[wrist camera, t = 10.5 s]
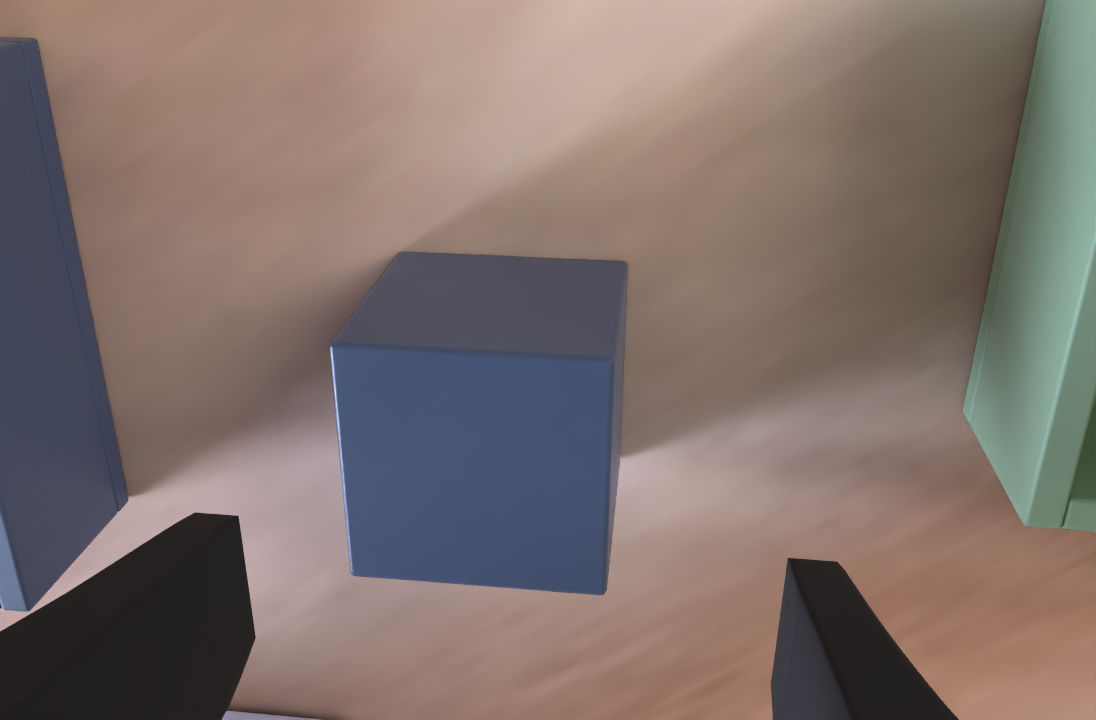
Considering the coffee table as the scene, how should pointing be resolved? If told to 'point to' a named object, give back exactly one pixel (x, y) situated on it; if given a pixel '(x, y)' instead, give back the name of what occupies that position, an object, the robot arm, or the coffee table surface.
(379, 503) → the slate block
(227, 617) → the robot arm
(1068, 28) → the sage bin
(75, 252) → the slate bin
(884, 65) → the coffee table surface
